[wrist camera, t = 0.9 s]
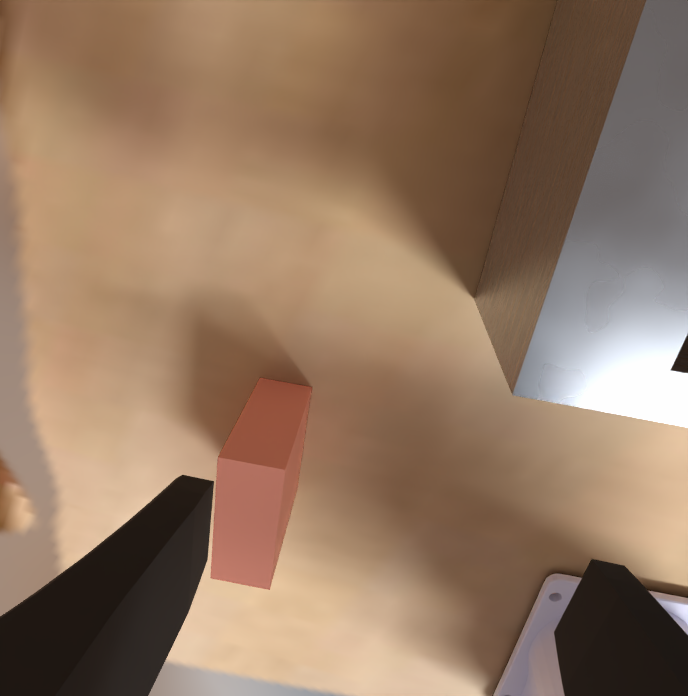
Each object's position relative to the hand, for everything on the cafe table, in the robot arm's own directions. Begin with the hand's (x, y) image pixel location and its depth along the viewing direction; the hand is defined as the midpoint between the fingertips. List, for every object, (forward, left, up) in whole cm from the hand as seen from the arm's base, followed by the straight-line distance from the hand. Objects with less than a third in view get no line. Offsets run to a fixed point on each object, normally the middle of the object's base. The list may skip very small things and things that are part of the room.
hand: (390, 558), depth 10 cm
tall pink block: (-5, +4, -10) cm, 11 cm away
